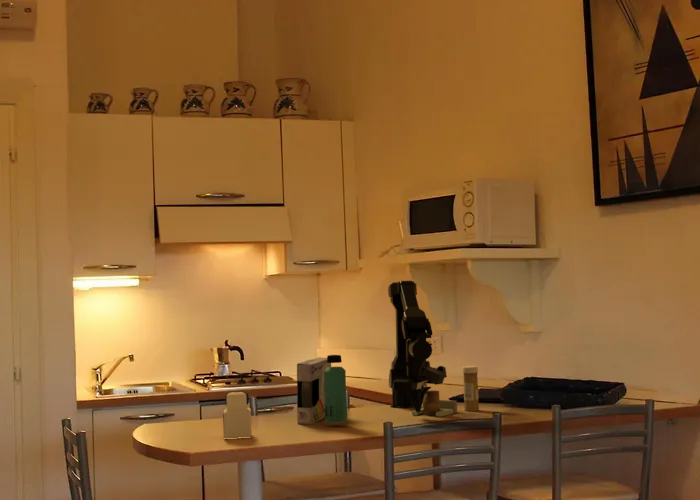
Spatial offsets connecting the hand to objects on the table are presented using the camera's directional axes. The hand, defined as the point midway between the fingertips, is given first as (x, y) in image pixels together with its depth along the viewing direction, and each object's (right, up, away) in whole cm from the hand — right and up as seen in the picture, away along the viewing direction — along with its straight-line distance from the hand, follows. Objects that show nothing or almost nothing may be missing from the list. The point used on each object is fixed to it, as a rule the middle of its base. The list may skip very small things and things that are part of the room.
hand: (418, 411), depth 280 cm
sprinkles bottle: (+17, -2, +14) cm, 22 cm away
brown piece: (+5, -2, +7) cm, 8 cm away
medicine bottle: (-50, -3, -25) cm, 55 cm away
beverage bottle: (-24, -3, -11) cm, 26 cm away
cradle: (+5, -2, +8) cm, 9 cm away
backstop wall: (+8, -2, +13) cm, 15 cm away
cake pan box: (-30, -3, +3) cm, 31 cm away
